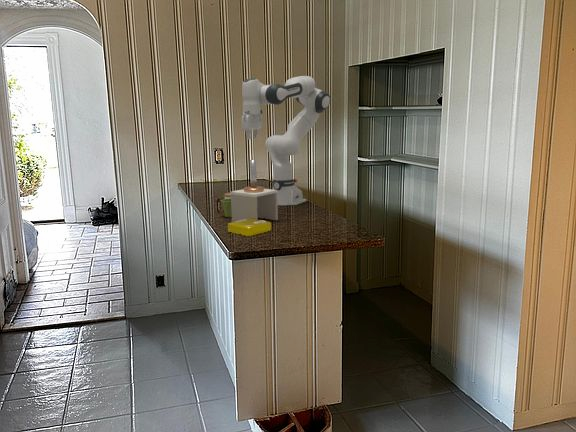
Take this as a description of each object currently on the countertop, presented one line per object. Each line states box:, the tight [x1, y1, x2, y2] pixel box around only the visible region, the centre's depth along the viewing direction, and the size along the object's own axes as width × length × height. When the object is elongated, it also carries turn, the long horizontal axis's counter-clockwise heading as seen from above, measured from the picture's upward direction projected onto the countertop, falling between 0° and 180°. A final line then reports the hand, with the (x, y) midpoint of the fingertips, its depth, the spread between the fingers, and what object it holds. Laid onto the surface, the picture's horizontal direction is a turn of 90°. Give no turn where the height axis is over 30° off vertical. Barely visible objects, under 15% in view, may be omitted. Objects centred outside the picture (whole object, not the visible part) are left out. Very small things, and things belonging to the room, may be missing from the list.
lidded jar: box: [223, 191, 232, 199], centre depth 292 cm, size 11×11×9 cm
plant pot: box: [220, 198, 232, 218], centre depth 268 cm, size 9×9×9 cm
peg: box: [243, 159, 265, 213], centre depth 253 cm, size 10×10×26 cm
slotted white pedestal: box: [230, 188, 279, 222], centre depth 255 cm, size 16×16×15 cm
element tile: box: [227, 218, 272, 237], centre depth 236 cm, size 15×15×5 cm
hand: (252, 138), depth 267 cm, fingers open, 8 cm apart
